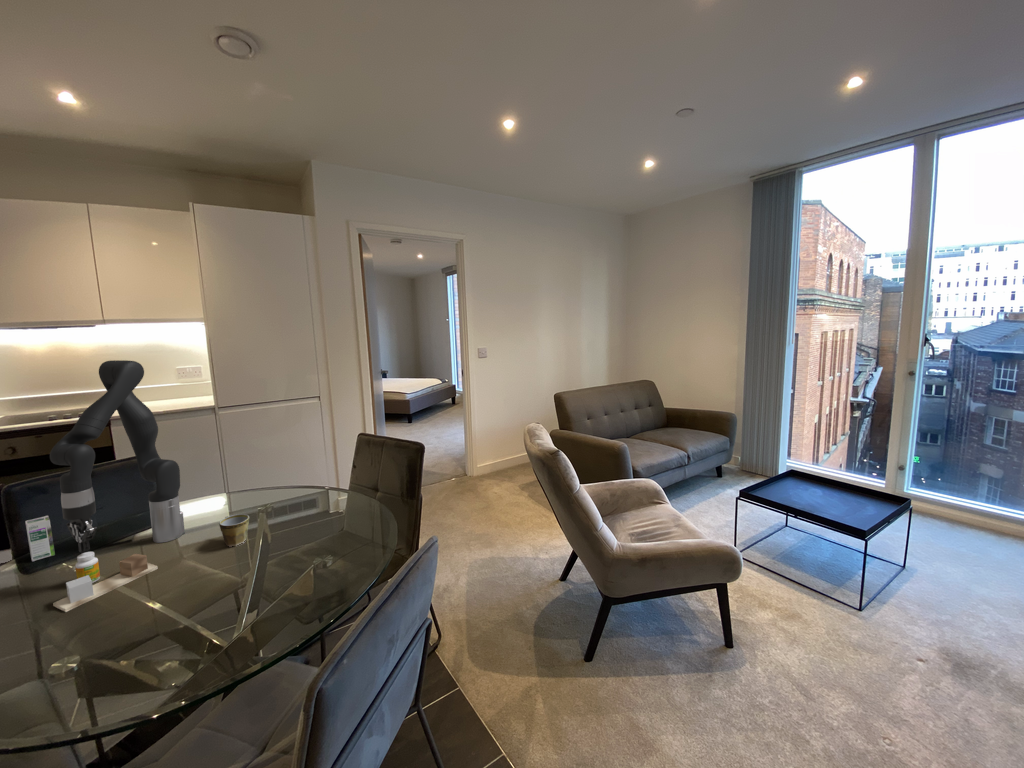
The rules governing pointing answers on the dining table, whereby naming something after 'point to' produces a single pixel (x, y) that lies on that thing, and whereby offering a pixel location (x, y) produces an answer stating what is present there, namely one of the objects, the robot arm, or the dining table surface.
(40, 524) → the syrup box
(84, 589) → the grey block
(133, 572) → the walnut block
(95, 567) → the supplement bottle
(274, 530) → the dining table surface
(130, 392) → the robot arm
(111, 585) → the birch strip
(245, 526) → the ceramic cup
